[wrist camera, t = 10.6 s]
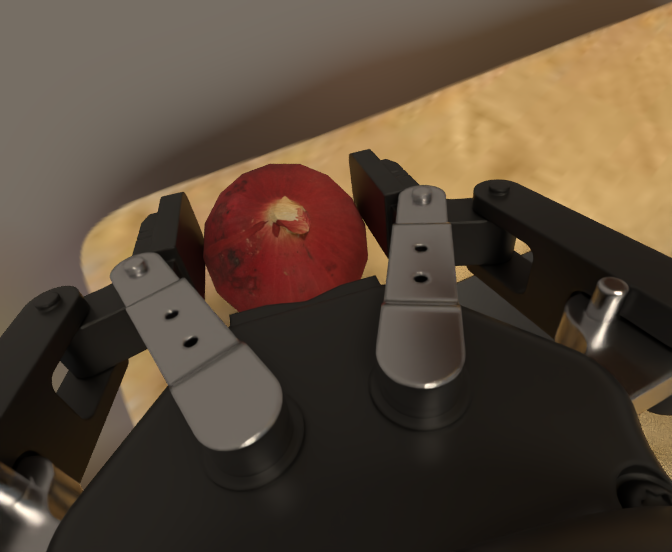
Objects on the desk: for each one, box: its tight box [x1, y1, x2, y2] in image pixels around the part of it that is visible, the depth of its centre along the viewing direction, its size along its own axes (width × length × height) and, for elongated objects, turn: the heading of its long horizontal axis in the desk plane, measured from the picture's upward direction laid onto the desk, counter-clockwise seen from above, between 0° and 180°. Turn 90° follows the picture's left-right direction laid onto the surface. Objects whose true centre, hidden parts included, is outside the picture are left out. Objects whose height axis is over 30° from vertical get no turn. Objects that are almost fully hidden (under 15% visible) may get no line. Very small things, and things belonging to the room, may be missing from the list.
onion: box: [203, 164, 368, 312], centre depth 14 cm, size 6×6×8 cm
